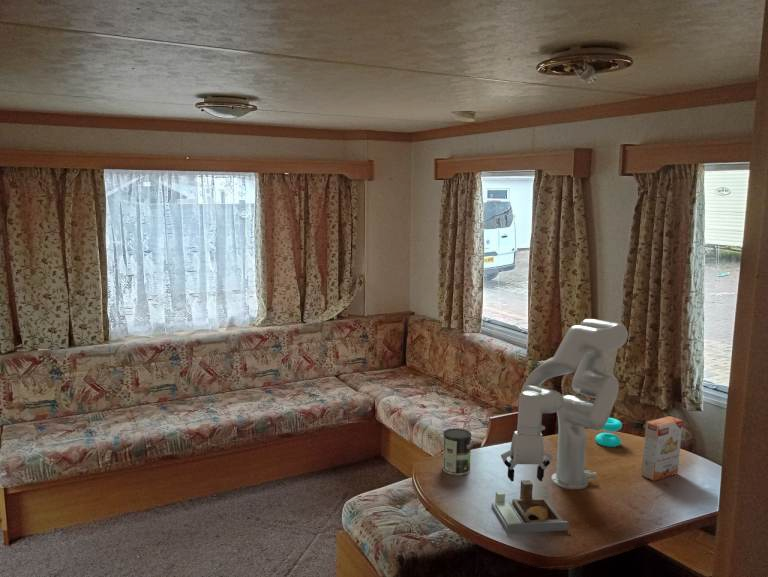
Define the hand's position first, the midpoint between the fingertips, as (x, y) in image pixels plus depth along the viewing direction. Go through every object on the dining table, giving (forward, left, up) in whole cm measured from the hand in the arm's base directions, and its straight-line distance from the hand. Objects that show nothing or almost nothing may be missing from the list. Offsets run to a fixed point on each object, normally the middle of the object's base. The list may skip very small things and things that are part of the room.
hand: (525, 479), depth 209 cm
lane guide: (+2, +9, -9) cm, 13 cm away
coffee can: (+16, -29, -9) cm, 34 cm away
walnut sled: (-1, +7, -8) cm, 11 cm away
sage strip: (+8, +8, -8) cm, 14 cm away
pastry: (-1, +10, -9) cm, 13 cm away
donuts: (-53, -49, -9) cm, 72 cm away
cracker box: (-58, -18, -9) cm, 61 cm away
